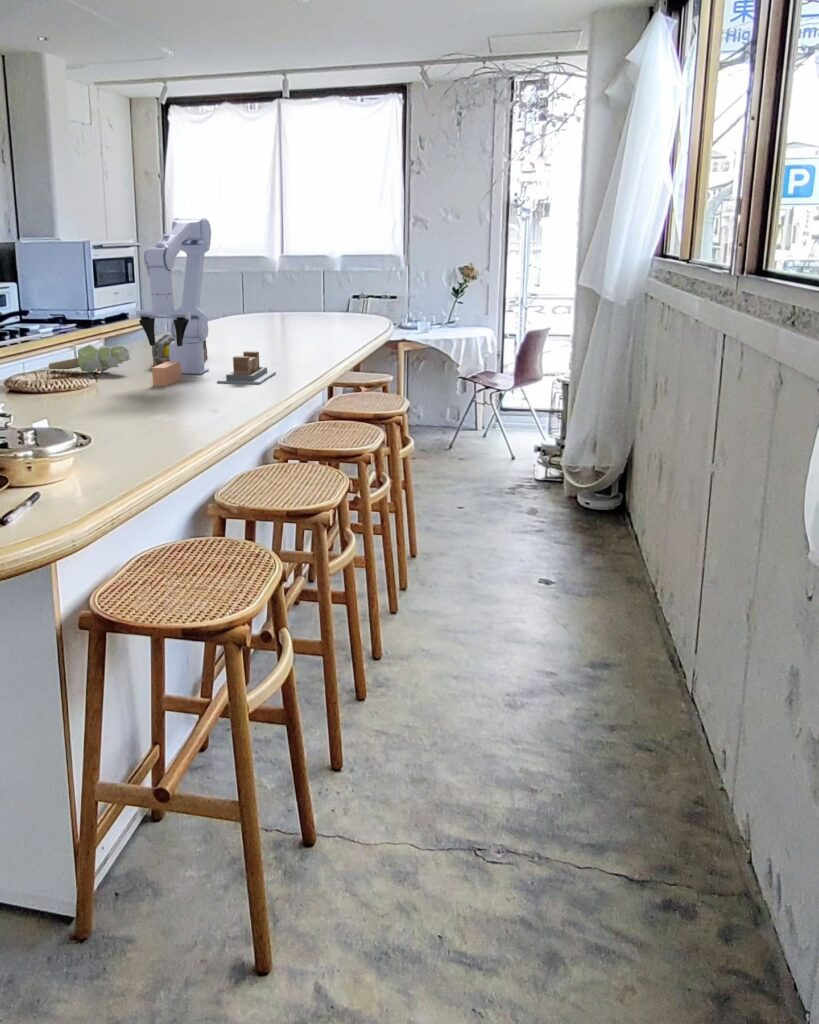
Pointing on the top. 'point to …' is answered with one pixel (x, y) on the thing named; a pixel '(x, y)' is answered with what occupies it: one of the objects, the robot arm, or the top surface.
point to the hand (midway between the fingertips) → (166, 345)
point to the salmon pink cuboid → (166, 373)
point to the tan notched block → (246, 363)
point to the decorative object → (95, 358)
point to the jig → (248, 377)
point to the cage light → (167, 350)
